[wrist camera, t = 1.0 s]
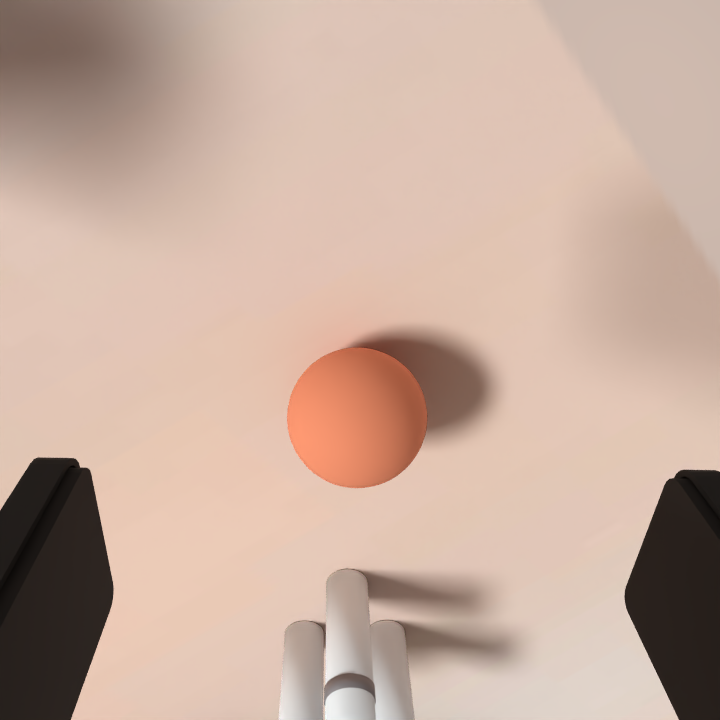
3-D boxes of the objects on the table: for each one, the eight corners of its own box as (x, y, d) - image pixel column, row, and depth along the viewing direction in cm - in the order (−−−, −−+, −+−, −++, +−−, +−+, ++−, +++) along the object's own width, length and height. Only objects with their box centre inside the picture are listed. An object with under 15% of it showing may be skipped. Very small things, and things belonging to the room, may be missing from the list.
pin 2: (366, 619, 39) (373, 765, 32) (406, 619, 39) (424, 764, 32) (364, 645, 40) (371, 791, 33) (403, 645, 40) (419, 790, 33)
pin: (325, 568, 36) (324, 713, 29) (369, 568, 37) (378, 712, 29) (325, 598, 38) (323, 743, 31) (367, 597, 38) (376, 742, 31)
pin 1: (283, 620, 39) (272, 767, 31) (324, 620, 39) (323, 766, 32) (284, 646, 40) (273, 793, 33) (324, 646, 40) (322, 792, 33)
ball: (289, 322, 28) (280, 397, 23) (423, 324, 29) (444, 398, 24) (292, 430, 31) (284, 518, 26) (413, 431, 32) (429, 518, 27)
